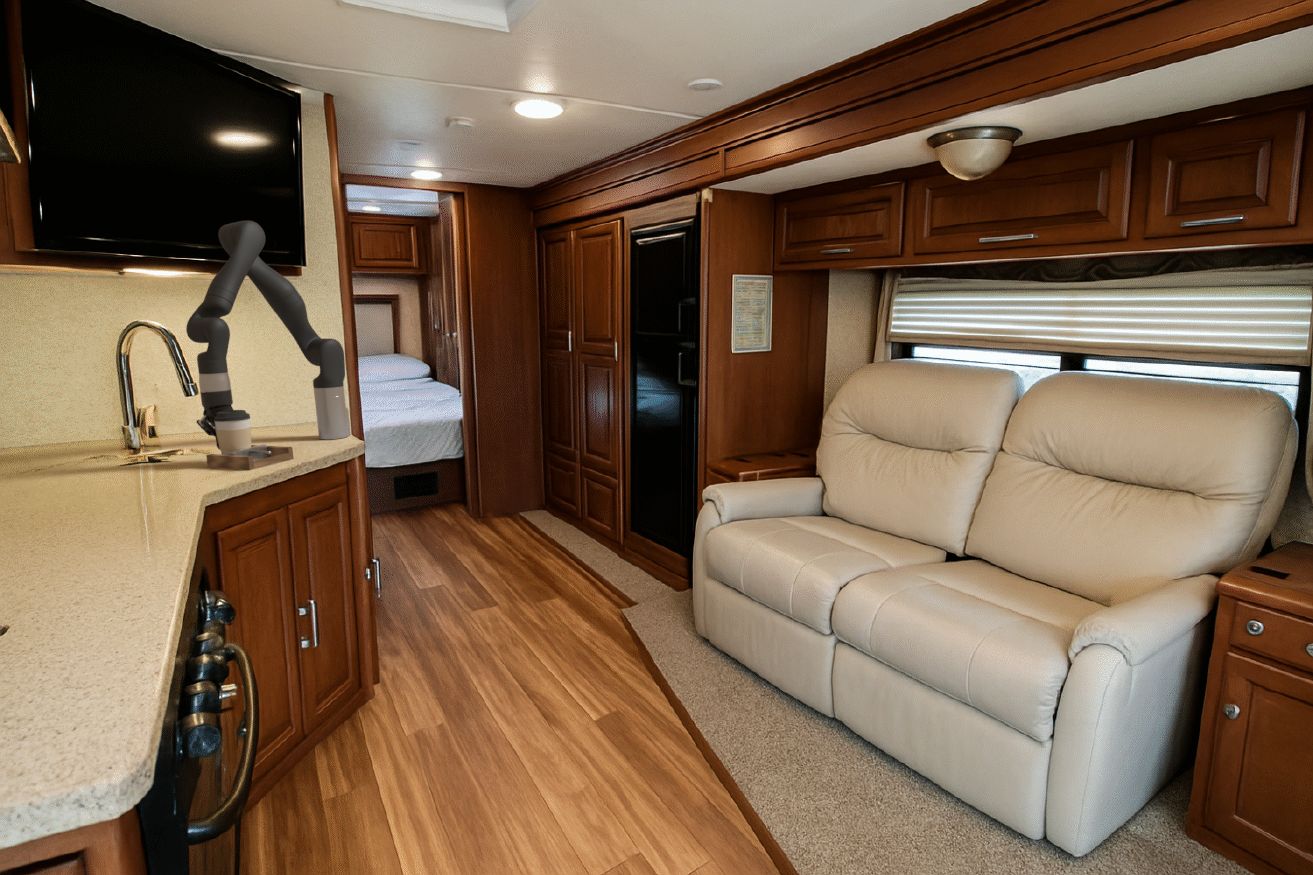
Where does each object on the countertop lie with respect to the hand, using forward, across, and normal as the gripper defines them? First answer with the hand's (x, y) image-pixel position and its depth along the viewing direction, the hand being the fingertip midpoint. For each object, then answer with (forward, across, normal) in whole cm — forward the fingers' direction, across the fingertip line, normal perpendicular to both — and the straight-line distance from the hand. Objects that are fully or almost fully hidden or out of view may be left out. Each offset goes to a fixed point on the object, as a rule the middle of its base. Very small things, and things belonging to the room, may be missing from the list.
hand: (223, 449), depth 204 cm
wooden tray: (+4, 0, +10) cm, 11 cm away
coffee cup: (+4, 0, +5) cm, 6 cm away
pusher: (+4, 0, +13) cm, 13 cm away
